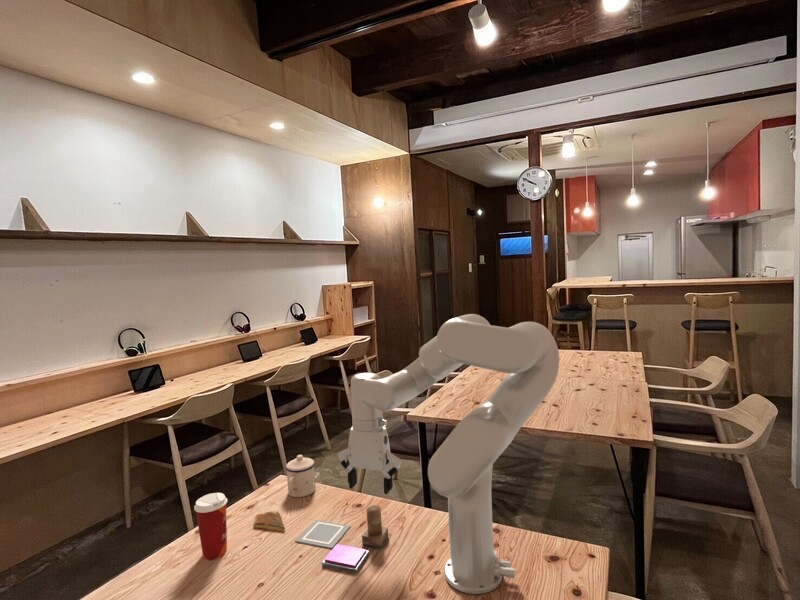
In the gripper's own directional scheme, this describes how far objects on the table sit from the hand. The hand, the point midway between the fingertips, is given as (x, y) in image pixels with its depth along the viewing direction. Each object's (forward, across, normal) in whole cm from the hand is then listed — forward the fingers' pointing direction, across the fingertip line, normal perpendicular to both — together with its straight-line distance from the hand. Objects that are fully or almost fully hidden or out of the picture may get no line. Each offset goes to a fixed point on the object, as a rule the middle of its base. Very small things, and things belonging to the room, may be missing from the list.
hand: (370, 488), depth 110 cm
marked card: (+14, +14, +1) cm, 20 cm away
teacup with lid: (+15, +33, -17) cm, 40 cm away
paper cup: (+15, +37, +15) cm, 43 cm away
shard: (+15, +31, -1) cm, 35 cm away
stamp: (+14, -1, 0) cm, 14 cm away
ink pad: (+14, +3, +9) cm, 17 cm away
